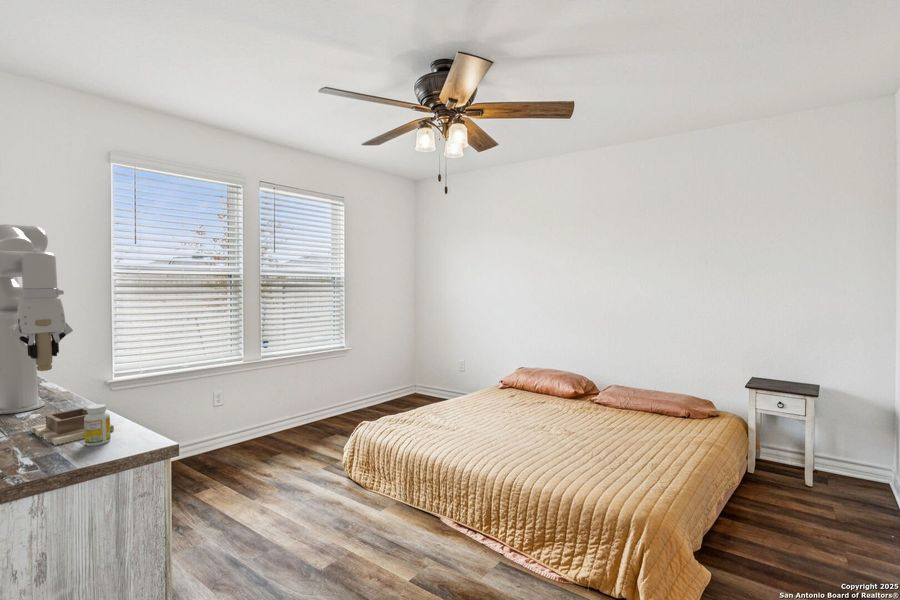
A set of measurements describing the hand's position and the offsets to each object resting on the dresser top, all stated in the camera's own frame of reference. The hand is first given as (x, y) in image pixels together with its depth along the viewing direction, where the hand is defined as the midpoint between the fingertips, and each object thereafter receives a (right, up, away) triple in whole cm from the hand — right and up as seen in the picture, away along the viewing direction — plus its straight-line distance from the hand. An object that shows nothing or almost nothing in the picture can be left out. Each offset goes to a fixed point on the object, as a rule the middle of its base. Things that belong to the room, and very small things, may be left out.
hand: (43, 356), depth 134 cm
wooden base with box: (+14, -20, -6) cm, 25 cm away
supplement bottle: (+27, -21, -15) cm, 37 cm away
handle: (0, -4, 0) cm, 4 cm away
